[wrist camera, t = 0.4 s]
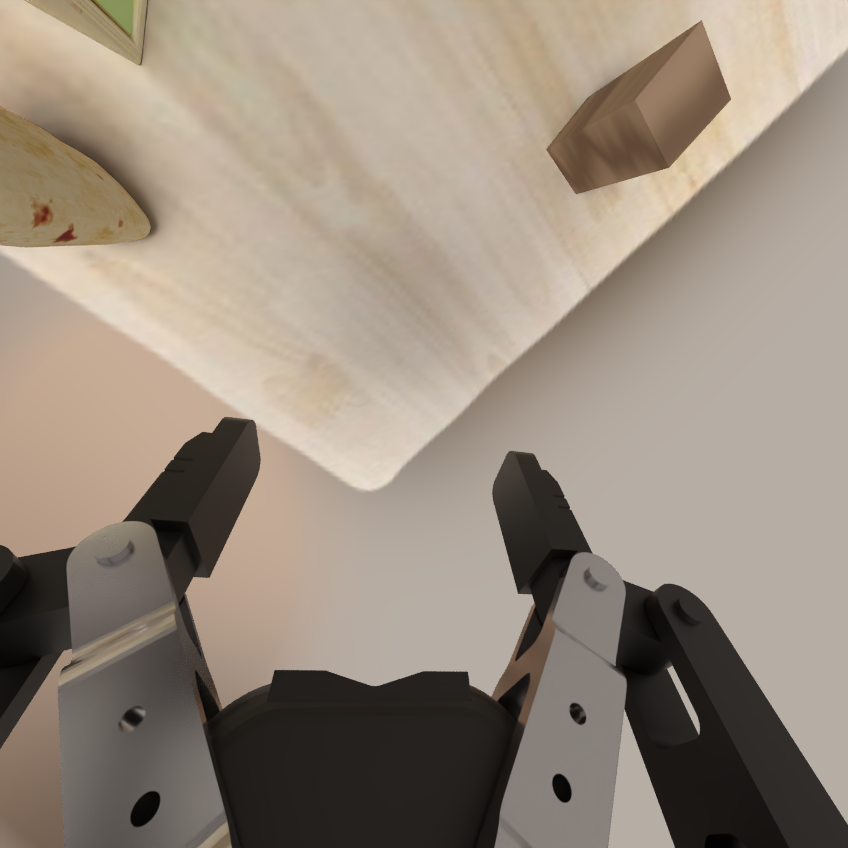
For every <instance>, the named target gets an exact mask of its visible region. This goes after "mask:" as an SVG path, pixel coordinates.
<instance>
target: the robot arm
mask: <svg viewBox="0 0 848 848" xmlns="http://www.w3.org/2000/svg"><path fill="white" fill-rule="evenodd" d="M259 468H260V452H259V444H258V437H257V430H256V424H255V422H254V420H248V419H240V418H231V417H224V418H223V419H222V420H221V422H220V423H219V424H218V426H217V427H216V428H215V430H214V431H213V433H207V432H202V433H200V434H199V435H197V436H196V437H194V438H193V439H191V440H189V441H188V442H186V443H185V444H184V445H183V446H182V448H181V449H180V450H179V452H178V453H177V454H176V455H175V457H174V460H172V461H171V462H170V463H169V464H168V465H167V467H166V468H165V471H164V472H162V473H161V474H160V475H159V477H158V478H157V479H156V481H155V482H154V483H153V484H152V486H151V487H150V488H149V489H148V491H147V492H146V493H145V494H144V496H143V497H142V498H141V500H140V501H139V502H138V503H137V504H136V506H135V507H134V508H133V510H132V511H131V512H130V513H129V515H128V516H127V517H126V518H125V519H124V520H123V522H120V523H116V524H112V525H109V526H107V527H104V528H102V529H100V530H98V531H96V532H94V533H93V534H91V535H89V536H88V537H86V538H85V539H84V540H83V541H82V542H80V543H79V544H78V545H77V546H76V547H72V548H67V549H62V550H56V551H51V552H46V553H40V554H34V555H29V556H24V557H18V558H17V557H16V556H15V555H14V554H13V553H12V552H11V551H10V550H9V549H8V548H6V547H5V546H2V545H0V748H1V747H2V745H3V744H4V742H5V741H6V739H7V738H8V736H9V735H10V733H11V731H12V729H13V728H14V727H15V725H16V724H17V722H18V721H19V719H20V717H21V716H22V714H23V713H24V711H25V710H26V708H27V706H28V705H29V703H30V702H31V700H32V699H33V697H34V695H35V694H36V692H37V691H38V689H39V688H40V686H41V685H42V683H43V682H44V680H45V678H46V677H47V675H48V674H49V672H50V671H51V669H52V668H53V666H54V664H55V663H56V661H57V660H58V658H59V657H60V655H61V654H62V652H63V651H64V650H68V649H72V660H71V663H70V664H69V665H68V666H65V667H64V668H63V669H62V671H61V673H60V676H59V680H58V707H59V732H60V754H61V755H60V756H61V777H62V778H61V780H62V803H63V804H62V805H63V829H64V848H608V843H609V833H610V825H611V817H612V808H613V800H614V792H615V783H616V775H617V766H618V757H619V749H620V741H621V732H622V724H623V715H624V709H625V711H626V714H627V717H628V720H629V722H630V725H631V728H632V730H633V733H634V736H635V739H636V741H637V744H638V747H639V750H640V752H641V755H642V758H643V761H644V764H645V766H646V769H647V772H648V774H649V777H650V780H651V783H652V785H653V788H654V791H655V794H656V796H657V799H658V802H659V805H660V807H661V810H662V813H663V816H664V818H665V821H666V824H667V826H668V829H669V832H670V835H671V838H672V840H673V843H674V846H675V848H848V825H847V823H846V821H845V820H844V818H843V817H842V815H841V814H840V812H839V811H838V809H837V808H836V806H835V804H834V803H833V801H832V800H831V798H830V796H829V795H828V793H827V792H826V790H825V789H824V787H823V786H822V784H821V782H820V781H819V779H818V778H817V776H816V775H815V773H814V772H813V770H812V768H811V767H810V765H809V764H808V762H807V761H806V759H805V757H804V756H803V755H802V753H801V751H800V750H799V748H798V747H797V745H796V744H795V742H794V740H793V739H792V737H791V736H790V734H789V733H788V731H787V729H786V728H785V726H784V725H783V723H782V722H781V720H780V719H779V717H778V715H777V714H776V712H775V711H774V709H773V708H772V706H771V705H770V703H769V701H768V700H767V698H766V697H765V695H764V694H763V692H762V690H761V689H760V687H759V686H758V684H757V683H756V681H755V680H754V678H753V677H752V675H751V673H750V672H749V670H748V669H747V667H746V666H745V664H744V663H743V661H742V659H741V658H740V656H739V655H738V653H737V652H736V650H735V649H734V647H733V645H732V644H731V642H730V641H729V639H728V637H727V636H726V634H725V633H724V631H723V630H722V628H721V627H720V625H719V623H718V622H717V621H716V619H715V617H714V616H713V614H712V613H711V611H710V610H709V609H708V608H707V606H706V605H705V604H704V603H703V602H702V601H701V600H700V599H699V598H698V597H696V596H695V595H694V594H693V593H691V592H690V591H688V590H686V589H684V588H683V587H681V586H678V585H674V584H664V585H662V586H661V587H659V588H658V589H657V590H655V591H654V592H653V591H650V590H647V589H644V588H642V587H639V586H636V585H634V584H631V583H629V582H626V581H624V580H622V579H621V577H620V575H619V573H618V572H617V571H616V570H615V569H614V567H613V566H612V565H611V564H609V563H608V562H607V561H606V560H604V559H603V558H601V557H599V556H597V555H594V554H593V553H592V551H591V549H590V547H589V545H588V543H587V541H586V539H585V537H584V535H583V533H582V531H581V529H580V527H579V525H578V523H577V521H576V519H575V517H574V515H573V513H572V511H571V510H570V506H569V504H568V502H567V500H566V499H564V494H563V492H562V490H561V488H560V486H559V484H558V482H557V481H556V480H555V479H554V478H553V477H552V476H551V475H550V474H549V472H547V470H541V468H540V465H539V463H538V461H537V459H536V457H535V455H534V454H532V453H524V452H516V451H510V452H508V454H507V455H506V458H505V460H504V462H503V464H502V466H501V469H500V470H499V473H498V475H497V477H496V479H495V481H494V485H493V493H492V494H493V501H494V505H495V508H496V513H497V516H498V520H499V524H500V527H501V531H502V535H503V538H504V542H505V546H506V550H507V554H508V557H509V561H510V565H511V569H512V572H513V576H514V580H515V583H516V587H517V591H518V594H532V596H533V599H534V602H535V603H534V604H533V606H532V607H531V610H530V612H529V614H528V617H527V620H526V622H525V624H524V627H523V629H522V632H521V634H520V637H519V639H518V642H517V645H516V647H515V650H514V652H513V655H512V657H511V660H510V662H509V664H508V666H507V668H506V670H505V672H504V674H503V675H502V677H501V678H500V680H499V682H498V684H497V686H496V688H495V690H494V692H493V694H492V696H491V697H490V696H489V695H487V694H486V693H484V692H483V691H481V690H479V689H477V688H475V687H473V686H470V685H469V677H468V672H436V671H433V672H432V671H430V672H429V671H424V672H420V673H417V674H414V675H411V676H408V677H405V678H402V679H398V680H395V681H392V682H389V683H386V684H383V685H380V686H370V685H367V684H364V683H361V682H358V681H355V680H352V679H349V678H346V677H343V676H340V675H337V674H334V673H331V672H328V671H315V670H313V671H312V670H310V671H308V670H275V671H274V675H273V679H272V683H271V684H269V685H265V686H262V687H260V688H258V689H255V690H253V691H251V692H248V693H247V694H245V695H243V696H242V697H240V698H238V699H236V700H235V701H233V702H232V703H231V704H229V705H228V706H226V707H225V708H224V709H222V706H221V703H220V700H219V697H218V693H217V690H216V687H215V684H214V681H213V679H212V676H211V674H210V671H209V669H208V666H207V663H206V660H205V657H204V654H203V650H202V647H201V643H200V640H199V637H198V633H197V630H196V626H195V623H194V620H193V616H192V613H191V610H190V606H189V603H188V599H187V596H186V594H185V592H186V590H187V588H188V586H189V584H190V582H191V580H192V578H193V577H205V578H209V577H210V575H211V573H212V571H213V569H214V567H215V565H216V562H217V560H218V558H219V556H220V554H221V552H222V550H223V548H224V546H225V544H226V541H227V539H228V537H229V535H230V533H231V531H232V529H233V527H234V525H235V522H236V520H237V518H238V516H239V514H240V512H241V510H242V508H243V505H244V503H245V501H246V499H247V497H248V495H249V493H250V491H251V489H252V487H253V484H254V482H255V480H256V478H257V476H258V472H259ZM671 666H673V667H674V669H675V671H676V673H677V675H678V677H679V679H680V681H681V683H682V685H683V687H684V689H685V691H686V693H687V695H688V697H689V699H690V702H691V704H692V706H693V708H694V710H695V712H696V714H697V716H698V719H699V723H700V734H699V735H698V732H697V730H696V728H695V726H694V724H693V722H692V720H691V718H690V716H689V714H688V712H687V710H686V708H685V705H684V703H683V701H682V699H681V697H680V695H679V693H678V691H677V689H676V687H675V684H674V682H673V680H672V678H671V676H670V674H669V672H668V670H667V668H669V667H671Z"/></svg>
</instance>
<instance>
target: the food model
mask: <svg viewBox="0 0 848 848" xmlns="http://www.w3.org/2000/svg"><path fill="white" fill-rule="evenodd" d="M150 229H151V226H150V223H149V220H148V218H147V217H146V215H145V214H144V213H143V211H142V210H141V209H140V207H139V206H138V205H137V203H136V202H135V201H134V200H133V198H132V197H131V196H130V195H129V194H128V193H127V192H126V190H125V189H124V188H123V187H122V186H121V185H120V184H119V183H118V182H117V181H116V180H115V179H114V178H113V177H112V176H110V175H109V174H108V173H107V172H106V171H105V170H104V169H103V168H102V167H101V166H100V165H98V164H97V163H96V162H95V161H93V160H92V159H90V158H89V157H87V156H86V155H84V154H82V153H81V152H79V151H78V150H76V149H74V148H72V147H70V146H68V145H67V144H65V143H63V142H61V141H59V140H58V139H57V138H55V137H54V136H52V135H51V134H50V133H48V132H47V131H45V130H44V129H42V128H40V127H38V126H37V125H35V124H33V123H31V122H29V121H27V120H25V119H23V118H22V117H20V116H18V115H16V114H14V113H12V112H10V111H8V110H6V109H4V108H2V107H0V245H3V246H16V247H49V246H75V245H106V244H114V243H121V242H128V241H134V240H139V239H143V238H145V237H146V236H147V235H148V234H149V232H150Z"/></svg>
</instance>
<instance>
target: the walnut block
mask: <svg viewBox="0 0 848 848" xmlns="http://www.w3.org/2000/svg"><path fill="white" fill-rule="evenodd" d="M730 100H731V98H730V95H729V92H728V90H727V87H726V84H725V82H724V79H723V76H722V74H721V71H720V68H719V65H718V63H717V60H716V57H715V55H714V52H713V49H712V47H711V44H710V41H709V39H708V36H707V33H706V31H705V28H704V25H703V23H702V20H701V21H700V22H699V23H697V24H696V25H694V26H693V27H691V28H690V29H688V30H687V31H685V32H684V33H682V34H681V35H679V36H678V37H676V38H675V39H674V40H672V41H671V42H669V43H668V44H666V45H665V46H663V47H662V48H660V49H659V50H657V51H656V52H654V53H653V54H652V55H650V56H649V57H647V58H646V59H644V60H643V61H641V62H640V63H638V64H637V65H635V66H634V67H632V68H631V69H629V70H628V71H627V72H625V73H624V74H622V75H621V76H619V77H618V78H616V79H615V80H613V81H612V82H610V83H609V84H607V85H606V86H605V87H603V88H602V89H600V90H599V91H597V92H596V93H594V94H593V95H591V96H590V97H588V98H587V100H586V101H585V102H584V103H583V104H582V106H581V107H580V108H579V109H578V111H577V112H576V113H575V114H574V116H573V117H572V118H571V119H570V121H569V122H568V123H567V124H566V126H565V127H564V128H563V129H562V131H561V132H560V133H559V134H558V136H557V137H556V138H555V139H554V141H553V142H552V143H551V144H550V146H549V147H548V148H547V149H546V150H547V151H548V153H549V154H550V156H551V157H552V159H553V160H554V162H555V163H556V165H557V166H558V168H559V169H560V171H561V172H562V174H563V175H564V177H565V178H566V180H567V181H568V183H569V184H570V186H571V187H572V189H573V190H574V192H575V193H576V194H578V193H581V192H585V191H588V190H592V189H595V188H599V187H602V186H606V185H610V184H613V183H617V182H620V181H624V180H627V179H631V178H634V177H638V176H641V175H645V174H648V173H652V172H656V171H659V170H663V169H666V168H669V167H670V166H671V165H672V164H673V163H674V162H675V160H676V159H677V158H678V157H679V156H680V155H681V154H682V153H683V152H684V151H685V149H686V148H687V147H688V146H689V145H690V144H691V143H692V142H693V141H694V140H695V138H696V137H697V136H698V135H699V134H700V133H701V132H702V131H703V130H704V129H705V127H706V126H707V125H708V124H709V123H710V122H711V121H712V120H713V119H714V117H715V116H716V115H717V114H718V113H719V112H720V111H721V110H722V109H723V108H724V106H725V105H726V104H727V103H728V102H729V101H730Z"/></svg>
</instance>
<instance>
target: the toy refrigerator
mask: <svg viewBox="0 0 848 848" xmlns="http://www.w3.org/2000/svg"><path fill="white" fill-rule="evenodd" d="M25 1H27V2H28V3H30V4H32V5H33V6H35V7H37V8H39V9H41V10H42V11H44V12H46V13H48V14H49V15H51V16H53V17H55V18H56V19H58V20H60V21H62V22H63V23H65V24H67V25H69V26H71V27H72V28H74V29H76V30H77V31H79V32H81V33H83V34H85V35H86V36H88V37H90V38H92V39H93V40H95V41H97V42H98V43H100V44H102V45H104V46H106V47H108V48H109V49H111V50H113V51H115V52H116V53H118V54H120V55H122V56H123V57H125V58H127V59H129V60H131V61H132V62H134V63H136V64H138V65H139V64H140V62H141V57H142V48H143V39H144V28H145V17H146V7H147V0H25Z"/></svg>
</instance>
